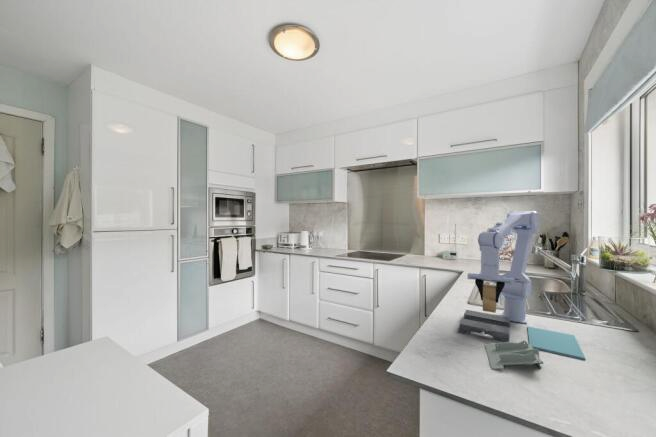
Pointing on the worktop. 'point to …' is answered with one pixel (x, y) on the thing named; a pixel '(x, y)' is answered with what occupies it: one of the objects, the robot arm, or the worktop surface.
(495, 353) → the metal bracket
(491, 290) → the oak peg
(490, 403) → the worktop surface
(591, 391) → the worktop surface
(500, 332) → the vise
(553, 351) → the teal mat
